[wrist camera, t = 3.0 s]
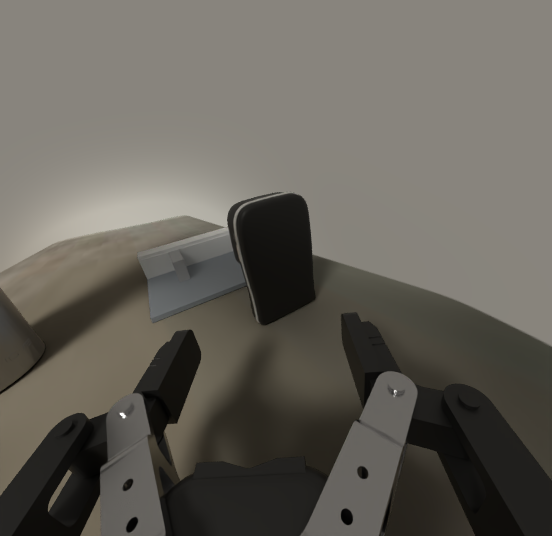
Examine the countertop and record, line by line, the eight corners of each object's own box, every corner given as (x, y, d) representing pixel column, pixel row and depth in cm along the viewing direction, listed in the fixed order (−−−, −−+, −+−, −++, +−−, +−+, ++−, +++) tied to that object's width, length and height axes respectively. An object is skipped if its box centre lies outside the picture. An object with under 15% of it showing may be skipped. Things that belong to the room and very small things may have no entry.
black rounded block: (297, 286, 28) (285, 186, 23) (318, 300, 25) (309, 188, 20) (244, 311, 25) (216, 203, 20) (260, 330, 22) (232, 208, 17)
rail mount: (152, 322, 25) (137, 291, 24) (148, 275, 37) (137, 252, 35) (278, 272, 31) (274, 244, 30) (240, 245, 43) (235, 224, 41)
